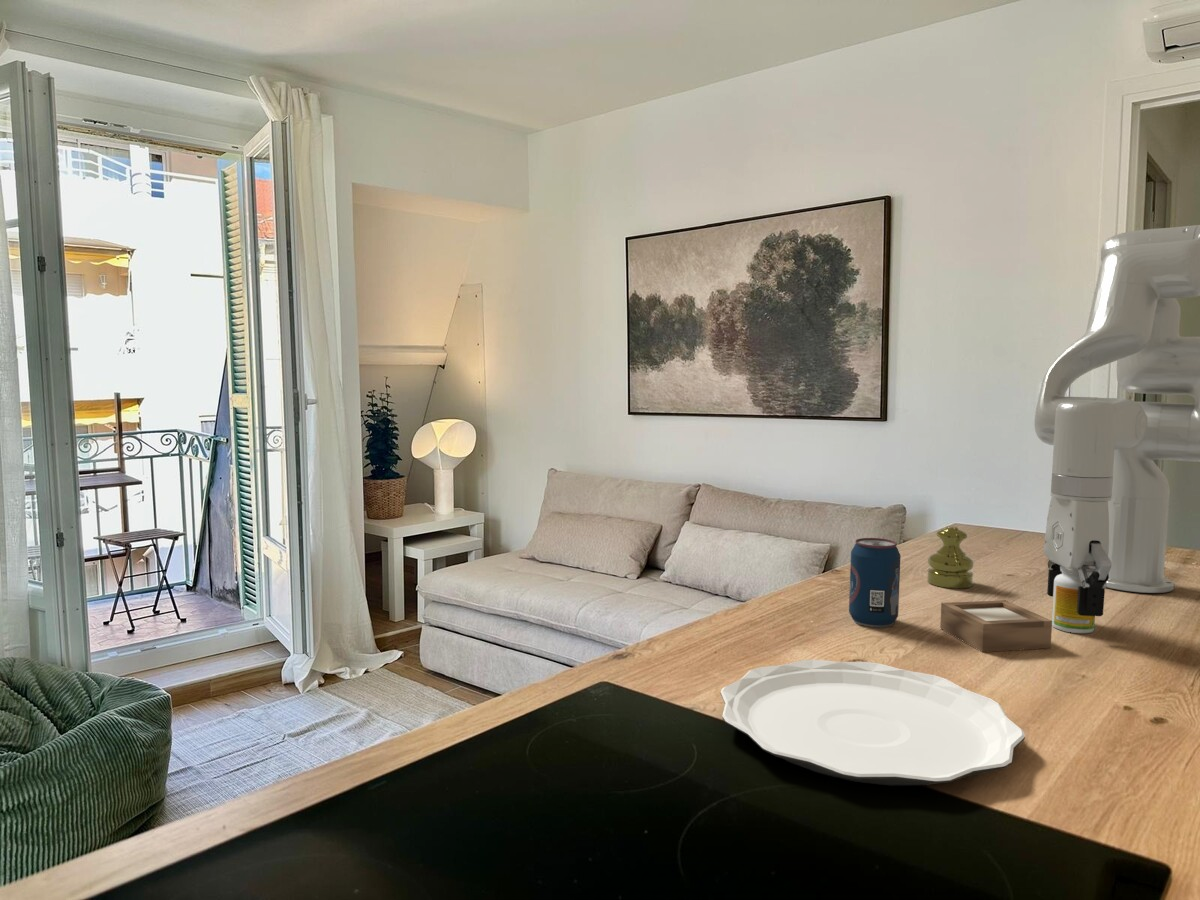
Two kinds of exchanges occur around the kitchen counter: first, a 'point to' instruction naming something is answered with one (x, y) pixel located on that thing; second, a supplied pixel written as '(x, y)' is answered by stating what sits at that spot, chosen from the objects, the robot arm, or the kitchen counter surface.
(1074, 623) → the supplement bottle
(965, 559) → the green chess piece
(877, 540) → the soda can
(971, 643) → the picture frame
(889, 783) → the plate
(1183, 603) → the kitchen counter surface
